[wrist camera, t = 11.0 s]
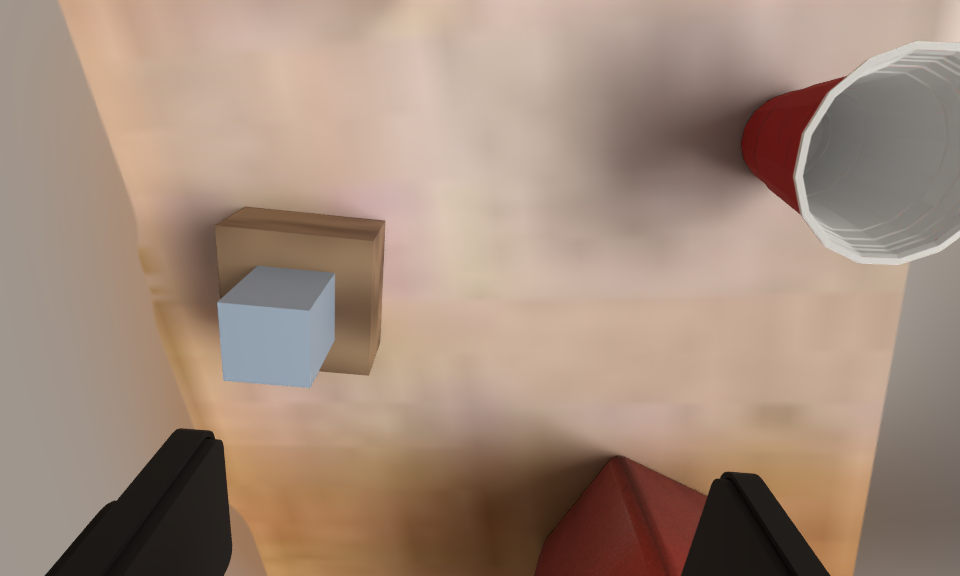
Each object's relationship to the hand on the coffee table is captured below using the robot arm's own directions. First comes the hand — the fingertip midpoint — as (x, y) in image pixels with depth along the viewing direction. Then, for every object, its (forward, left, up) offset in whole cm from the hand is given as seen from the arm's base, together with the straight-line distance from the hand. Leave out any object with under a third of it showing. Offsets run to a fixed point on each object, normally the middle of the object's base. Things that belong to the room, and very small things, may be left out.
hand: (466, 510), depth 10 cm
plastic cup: (-6, +21, -31) cm, 38 cm away
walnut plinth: (+8, -11, -30) cm, 33 cm away
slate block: (+8, -11, -25) cm, 29 cm away
